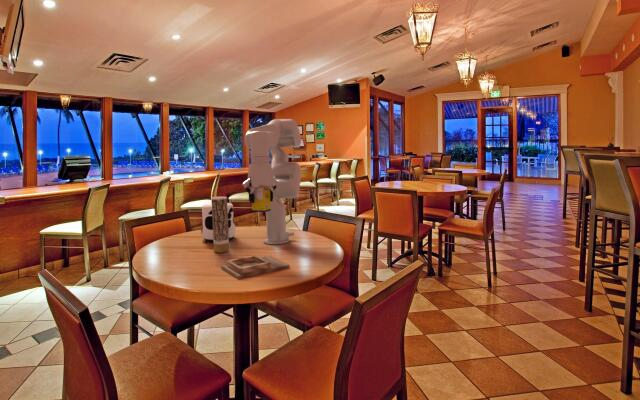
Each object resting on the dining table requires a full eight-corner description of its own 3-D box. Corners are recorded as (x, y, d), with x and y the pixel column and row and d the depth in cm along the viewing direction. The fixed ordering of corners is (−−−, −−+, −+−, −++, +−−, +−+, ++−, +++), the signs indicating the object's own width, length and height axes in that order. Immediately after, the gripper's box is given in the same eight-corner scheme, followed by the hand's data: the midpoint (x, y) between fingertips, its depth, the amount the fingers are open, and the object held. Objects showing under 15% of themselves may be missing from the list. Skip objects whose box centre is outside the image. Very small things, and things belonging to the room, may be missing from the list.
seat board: (269, 258, 170) (269, 251, 170) (289, 267, 157) (289, 259, 157) (221, 268, 157) (220, 260, 157) (238, 279, 145) (237, 270, 144)
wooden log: (225, 253, 178) (222, 198, 175) (211, 252, 180) (208, 198, 176) (231, 249, 185) (229, 196, 182) (218, 248, 186) (215, 196, 183)
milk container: (215, 234, 217) (213, 201, 214) (242, 236, 210) (241, 203, 208) (194, 241, 201) (192, 206, 198) (223, 244, 194) (221, 208, 192)
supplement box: (270, 210, 171) (270, 185, 170) (264, 212, 166) (264, 186, 164) (258, 210, 173) (258, 185, 172) (251, 211, 167) (251, 186, 166)
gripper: (273, 160, 175) (274, 199, 177) (237, 161, 165) (238, 202, 167) (282, 160, 169) (283, 201, 171) (245, 161, 159) (246, 204, 161)
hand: (261, 201), depth 169 cm, fingers closed on supplement box, 8 cm apart
